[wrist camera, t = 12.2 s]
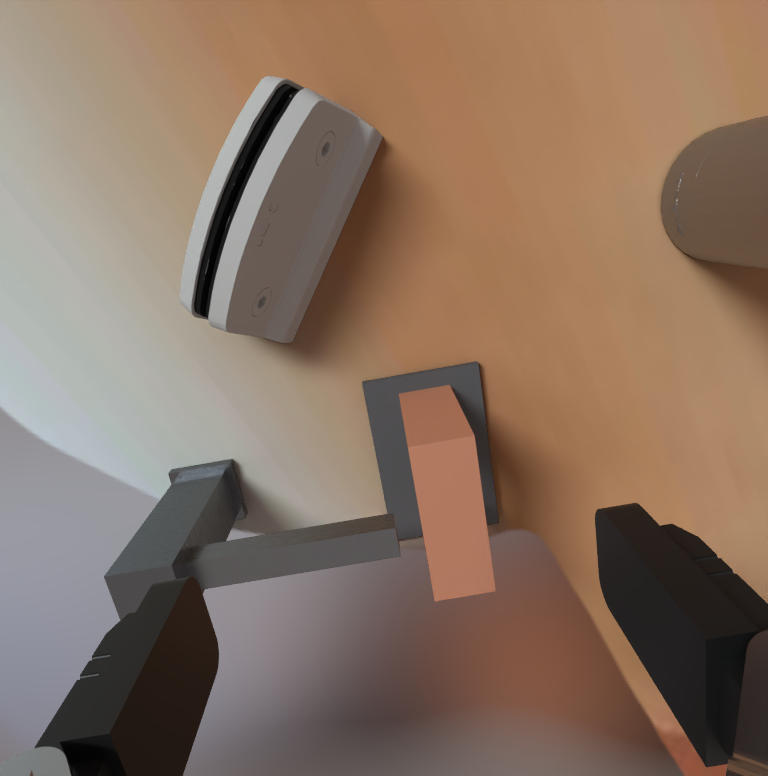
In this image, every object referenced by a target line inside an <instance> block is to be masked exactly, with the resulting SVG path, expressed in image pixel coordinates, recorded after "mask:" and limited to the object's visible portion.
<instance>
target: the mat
mask: <svg viewBox="0 0 768 776" xmlns="http://www.w3.org/2000/svg"><path fill="white" fill-rule="evenodd" d="M362 385H363V390H364V395H365V400H366V405H367V410H368V416H369V421H370V426H371V431H372V436H373V441H374V446H375V452H376V457H377V462H378V467H379V472H380V477H381V482H382V487H383V493H384V498H385V503H386V508H387V513H388V514H390V513H394V517H395V522H396V528H397V533H398V538H399V540H401V539H407V538H413V537H419V536H423V531H422V525H421V519H420V514H419V508H418V502H417V497H416V491H415V485H414V479H413V474H412V468H411V462H410V457H409V451H408V445H407V440H406V434H405V428H404V422H403V416H402V411H401V405H400V399H399V394H400V393H406V392H411V391H417V390H423V389H429V388H434V387H440V386H446V385H450V386H451V388H452V391H453V393H454V395H455V397H456V399H457V401H458V403H459V405H460V407H461V409H462V411H463V413H464V415H465V417H466V419H467V421H468V423H469V425H470V427H471V429H472V431H473V433H474V436H475V442H476V449H477V457H478V464H479V471H480V479H481V486H482V493H483V501H484V508H485V516H486V523H487V525H491V524H496V523H499V520H498V512H497V504H496V497H495V489H494V481H493V473H492V465H491V458H490V450H489V442H488V434H487V426H486V419H485V411H484V403H483V395H482V388H481V380H480V372H479V364H478V362H471V363H466V364H460V365H454V366H449V367H443V368H437V369H432V370H426V371H420V372H414V373H409V374H403V375H397V376H392V377H386V378H380V379H375V380H369V381H363V382H362Z"/></svg>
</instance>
